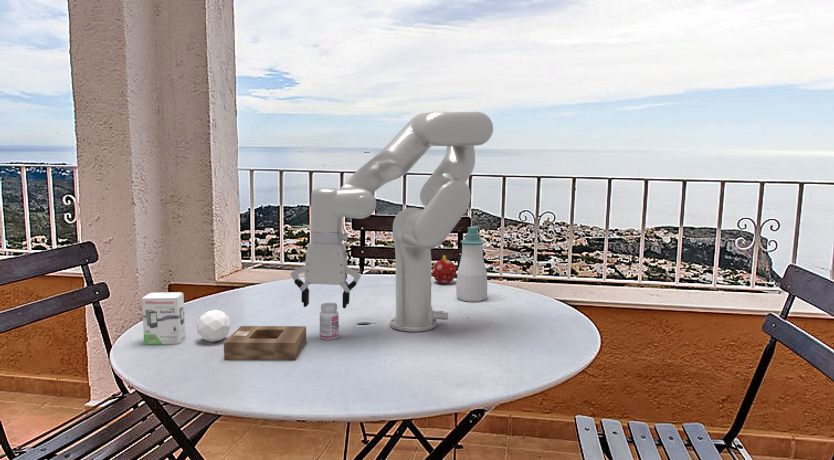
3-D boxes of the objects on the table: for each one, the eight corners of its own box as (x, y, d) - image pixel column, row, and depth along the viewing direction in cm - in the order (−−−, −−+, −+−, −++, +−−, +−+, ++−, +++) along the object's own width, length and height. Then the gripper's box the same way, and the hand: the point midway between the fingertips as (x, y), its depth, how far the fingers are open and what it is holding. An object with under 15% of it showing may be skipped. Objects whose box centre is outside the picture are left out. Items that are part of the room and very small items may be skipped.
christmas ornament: (430, 285, 197) (430, 257, 195) (433, 280, 205) (434, 252, 204) (455, 286, 195) (455, 258, 194) (457, 280, 204) (457, 253, 202)
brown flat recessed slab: (306, 342, 138) (306, 325, 138) (295, 360, 126) (294, 342, 126) (241, 341, 138) (240, 325, 138) (224, 359, 126) (223, 342, 126)
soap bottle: (492, 297, 181) (493, 226, 177) (478, 304, 172) (479, 230, 169) (465, 293, 186) (466, 224, 183) (450, 299, 178) (451, 228, 174)
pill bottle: (335, 340, 139) (334, 307, 138) (317, 339, 140) (316, 306, 139) (341, 334, 144) (341, 302, 143) (324, 333, 145) (323, 301, 144)
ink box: (143, 345, 136) (140, 297, 134) (151, 338, 141) (148, 292, 139) (179, 344, 136) (177, 297, 135) (186, 337, 141) (184, 291, 140)
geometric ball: (207, 350, 140) (194, 322, 142) (238, 335, 143) (225, 308, 145) (201, 344, 133) (188, 315, 135) (234, 329, 136) (220, 300, 138)
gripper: (363, 237, 142) (361, 303, 144) (294, 235, 142) (294, 301, 144) (359, 241, 135) (358, 311, 137) (287, 239, 135) (287, 308, 137)
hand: (325, 306), depth 140 cm, fingers open, 9 cm apart
